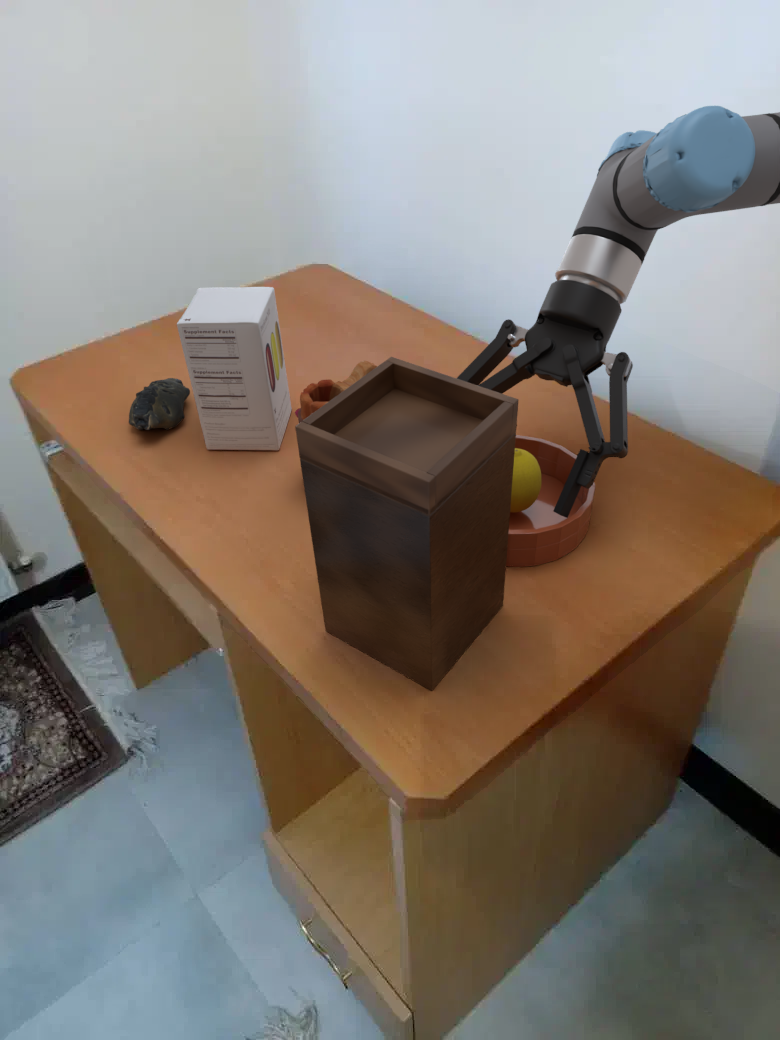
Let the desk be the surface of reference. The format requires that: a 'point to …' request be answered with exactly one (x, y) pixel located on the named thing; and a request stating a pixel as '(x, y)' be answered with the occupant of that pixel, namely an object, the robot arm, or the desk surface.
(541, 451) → the bowl
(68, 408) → the desk surface
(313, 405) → the mug
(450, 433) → the tray
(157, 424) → the stone
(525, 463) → the lemon
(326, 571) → the stand
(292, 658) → the desk surface
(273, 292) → the supplement box
